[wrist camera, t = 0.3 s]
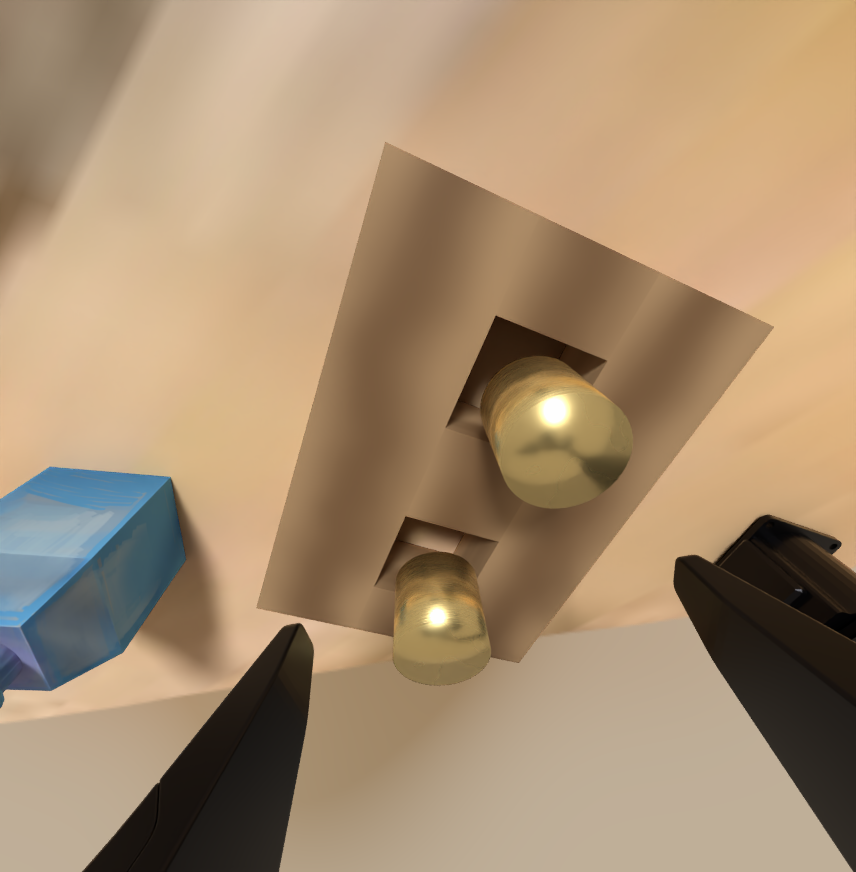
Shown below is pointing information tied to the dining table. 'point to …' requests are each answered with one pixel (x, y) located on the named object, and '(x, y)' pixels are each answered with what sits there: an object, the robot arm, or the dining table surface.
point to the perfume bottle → (80, 570)
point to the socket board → (461, 423)
